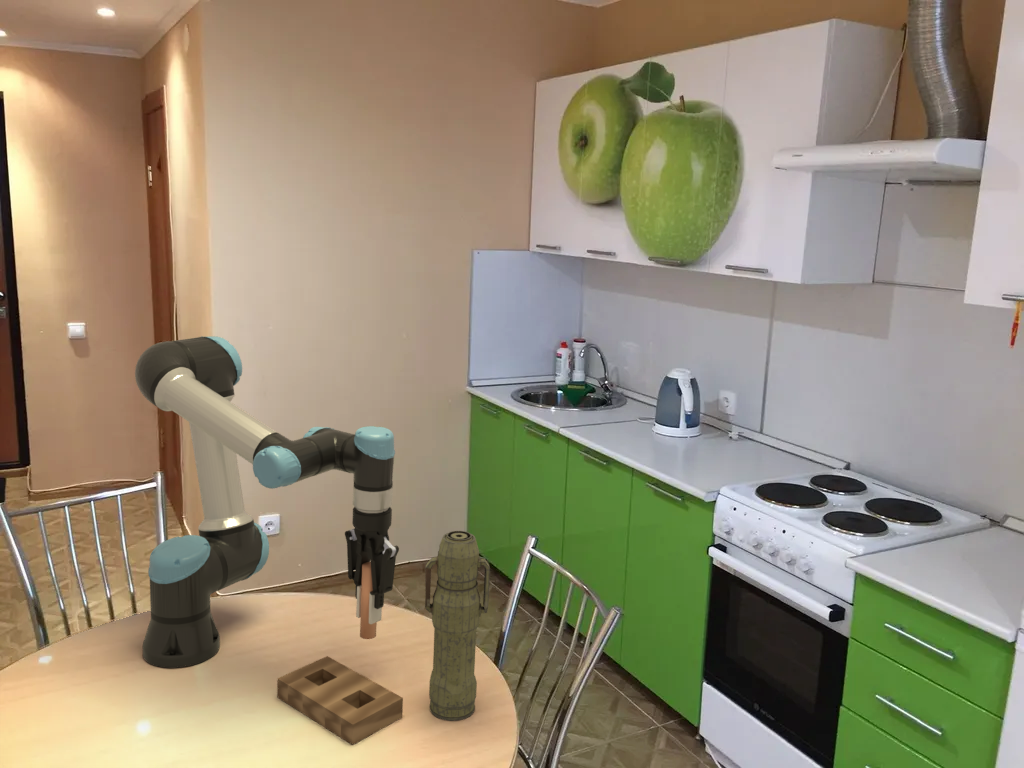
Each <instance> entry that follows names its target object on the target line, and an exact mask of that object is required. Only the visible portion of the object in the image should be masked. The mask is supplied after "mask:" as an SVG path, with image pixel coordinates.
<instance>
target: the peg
mask: <svg viewBox="0 0 1024 768" xmlns="http://www.w3.org/2000/svg"><path fill="white" fill-rule="evenodd" d="M371 591H373V588H372V574H371V561H370V562H366V563H364V564H362V587H361V617H360V620H359V621H360V623H359V624H360V625H359V626H360V627H359V637H360V638H361V639H363V640H373V639H375V638H376V637H377V625H378V624H377V623H378V622H376V623H373V624H369V595H370V592H371Z"/></svg>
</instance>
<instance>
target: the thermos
mask: <svg viewBox="0 0 1024 768" xmlns="http://www.w3.org/2000/svg"><path fill="white" fill-rule="evenodd" d="M438 546H439V549H438V551H437V556H435V557H431V558H430V559H429V560H428V562H427V563H426V565H425V568H424V569H425V574H424V575H425V578H424V579H425V585H424V586H425V587H424V588H425V589H424V590H425V595H424V597H425V598H424V599H425V600H424V609H425V610H426V611H427V612H428V613H430V614H431V618H432V619H431V622H432V625H433V629H434V630H433V631H434V632H433V633H434V634H433V655H432V657H433V658H432V659H433V660H432V662H433V663H432V664H433V665H432V670H431V674H430V677H429V686H428V688H429V690H428V691H429V693H428V696H429V700H430V701H429V712H430V713H431V714H432V715H433V716H434V717H435V718H437V719H439V720H443V721H449V722H457V721H462V720H466V719H467V718H469V717H471V716H472V715H473V714H474V713H475V709H476V705H475V704H476V703H475V701H476V698H477V689H478V688H477V687H478V686H477V685H478V683H477V681H478V680H477V679H476V675H475V669H476V668H475V667H476V665H475V663H476V646H477V645H476V644H477V639H476V638H477V629H478V627H479V625H480V617H481V616H482V614H487V613H488V608H489V599H490V598H489V597H490V577H491V576H490V575H491V567H490V564H489V563H488V561H487V559H486V558H484V557H483V558H482V557H481V556H480V549H479V545H478V542H477V538H476V536H475V535H474V534H473V533H470V532H468V531H464V530H453V531H452V530H451V531H449V532H447V533H444V534H443V536H442V537H441V541H440V543H439V545H438ZM434 565H436V566H437V569H436V574H437V581H436V588H435V590H434V592H433V594H432V603H431V587H432V585H431V584H432V583H431V581H432V579H431V578H432V569H433V567H434ZM482 566H483V567H484V580H483V581H484V582H483V602H482V603H483V606H482V603H481V595H480V593H479V588H478V587H479V586H478V577H479V568H481V567H482Z"/></svg>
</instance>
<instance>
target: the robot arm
mask: <svg viewBox="0 0 1024 768" xmlns="http://www.w3.org/2000/svg"><path fill="white" fill-rule="evenodd" d="M242 375H243V363H242V359H241V356H240V354H239V352H238V350H237V349H236V348H235V346H234V345H233V344H232V343H230V342H229V340H227V339H226V338H224V337H221V336H215V335H214V336H213V335H212V336H202V335H201V336H198V337H192V338H191V337H190V338H183V339H178V340H177V339H176V340H167V341H162V342H161V341H160V342H157V343H155V344H152V345H151V346H149V347H148V348H146V349H145V350H144V351H143V352H142V353H141V355H140V356H139V357H138V360H137V362H136V364H135V369H134V379H135V383H136V386H137V388H138V390H139V391H140V393H141V394H142V396H144V398H145V399H146V400H147V401H148V402H149V403H150V404H152V405H153V406H155V407H157V409H159V410H161V411H164V412H173V413H175V414H177V415H178V416H180V417H181V418H183V419H184V420H186V422H188V423H189V430H190V437H191V443H192V449H193V455H194V456H193V457H194V462H195V469H196V474H197V475H196V476H197V479H198V488H199V493H200V499H201V506H202V512H203V520H202V521H201V522H200V524H199V525H198V534H199V535H195V534H186V535H183V536H176V537H172V538H169V539H166V540H164V541H163V542H161V543H158V545H156V546H155V547H154V549H152V551H151V553H150V556H149V567H148V571H147V573H148V577H149V594H150V595H149V596H150V597H149V599H150V600H149V601H150V621H149V624H148V626H147V631H146V632H145V637H144V640H143V642H142V657H143V659H144V661H146V662H147V664H148V663H149V664H150V665H152V666H155V667H160V668H166V669H168V668H170V669H172V668H173V669H174V668H175V669H176V668H186V667H190V666H194V665H198V664H200V663H203V662H205V661H208V660H210V659H211V658H212V657H214V656H215V655H216V654H217V653H218V651H220V647H221V646H220V645H221V644H220V643H221V641H220V632H219V631H218V628H217V625H216V623H215V620H214V618H213V615H212V612H211V595H212V594H214V593H216V592H218V591H220V590H223V589H225V588H228V587H230V586H231V585H234V584H236V583H238V582H241V581H245V580H247V579H249V578H251V577H252V576H253V575H255V574H257V573H259V572H260V571H261V570H262V569H263V568H264V566H265V565H266V564H267V561H268V559H269V555H270V542H269V538H268V535H267V532H265V531H263V530H264V528H263V527H262V525H260V524H259V523H258V522H257V523H256V522H255V520H254V516H253V515H251V514H250V513H248V512H247V511H246V509H245V502H244V497H243V490H242V489H243V488H242V483H241V477H240V476H241V475H240V470H239V469H240V468H239V464H238V456H239V457H241V458H243V459H244V460H245V461H247V462H248V463H250V464H251V465H252V471H253V475H254V477H255V478H257V480H258V483H259V484H260V485H262V487H265V488H267V489H272V490H273V489H278V488H281V487H282V488H283V487H287V486H291V485H293V484H295V483H298V482H300V481H301V482H302V481H303V480H305V479H309V478H312V477H315V476H317V475H321V474H323V473H327V472H329V471H334V470H335V471H341V472H344V473H348V474H353V487H352V488H353V491H352V505H353V508H352V526H353V527H354V528H353V529H349V530H346V531H345V532H344V537H345V540H346V550H347V551H346V552H347V554H346V556H347V577H348V579H349V580H352V581H353V583H354V585H355V593H354V594H355V600H356V610H355V611H356V612H355V616H356V618H358V619H359V618H360V619H361V587H362V564H364V563H366V562H371V574H372V588H373V591H371V592H370V595H369V624H373V623H376V622H377V623H378V622H380V621H382V617H383V616H382V615H383V614H382V613H383V611H382V610H383V607H384V605H385V601H384V600H385V594H386V593H389V592H390V591H393V587H394V577H395V569H396V561H397V560H396V558H397V555H398V554H399V551H400V548H399V546H398V545H393V544H392V543H391V542H390V537H389V532H388V531H389V529H390V528H391V526H392V520H393V519H392V516H393V509H392V506H393V487H394V485H393V483H394V481H393V476H394V475H393V473H394V463H395V462H394V461H395V454H396V451H395V450H396V449H395V436H394V433H393V431H392V430H391V429H389V428H387V427H383V426H373V425H370V426H369V425H367V426H363V427H360V428H358V429H356V431H355V433H349V432H347V431H341V430H338V429H335V428H331V427H324V426H313V427H311V428H310V429H309V430H308V431H307V432H305V433H304V434H303V437H301V438H298V439H295V440H291V439H290V438H287V436H284V435H283V434H281V433H279V432H278V431H277V430H275V429H273V428H272V427H270V426H268V425H267V424H266V423H264V422H263V421H261V420H259V419H258V418H257V417H254V416H253V415H252V414H250V413H248V412H247V411H245V410H244V409H242V408H240V407H239V406H238V405H236V404H234V403H233V402H231V401H232V400H233V399H234V398H235V396H236V395H235V388H234V386H236V385H237V384H239V382H240V379H241V377H242ZM237 455H238V456H237Z"/></svg>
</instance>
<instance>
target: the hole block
mask: <svg viewBox="0 0 1024 768" xmlns="http://www.w3.org/2000/svg"><path fill="white" fill-rule="evenodd" d="M276 681H277V684H276V685H277V692H276V693H277V696H276V697H277V698H278V699H279V700H281V701H283V702H284V703H285V704H287V705H289V706H290V707H292V708H293V709H294V710H296V711H298V712H300V713H301V714H302V715H304V716H306V717H308V718H309V719H311V720H312V721H314V722H316V723H317V724H319V725H320V726H322V727H324V729H327V730H328V731H330V732H331V733H333V734H335V735H336V736H338V737H339V738H341V739H342V740H344V741H345V742H347V743H349V744H350V745H352V746H353V745H356V744H357V743H359V742H360V741H363V740H364V739H366V738H368V737H370V736H371V735H373V734H375V733H377V732H379V731H381V730H383V729H384V728H386V727H388V726H389V725H392V724H393V723H395V722H397V721H398V720H400V719H402V718H403V713H404V712H403V711H404V710H403V709H404V708H403V705H404V697H402V696H401V695H399V694H397V693H396V692H395V693H394V692H393V691H391V690H389V689H387V688H386V687H384V686H382V685H380V684H379V683H376V682H375V681H374V680H372V679H369V678H368V677H366V676H364V675H362V674H361V673H359V672H357V671H356V670H353V669H352V668H350V667H348V666H346V665H344V664H342V663H341V662H339V661H337V660H335V659H334V658H332V657H330V656H328V655H326V656H324V657H322V658H319V659H317V660H315V661H313V662H311V663H309V664H306V665H304V666H302V667H300V668H298V669H295V670H293V671H291V672H288V673H286V674H283V675H282V676H280V677H277V679H276Z"/></svg>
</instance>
